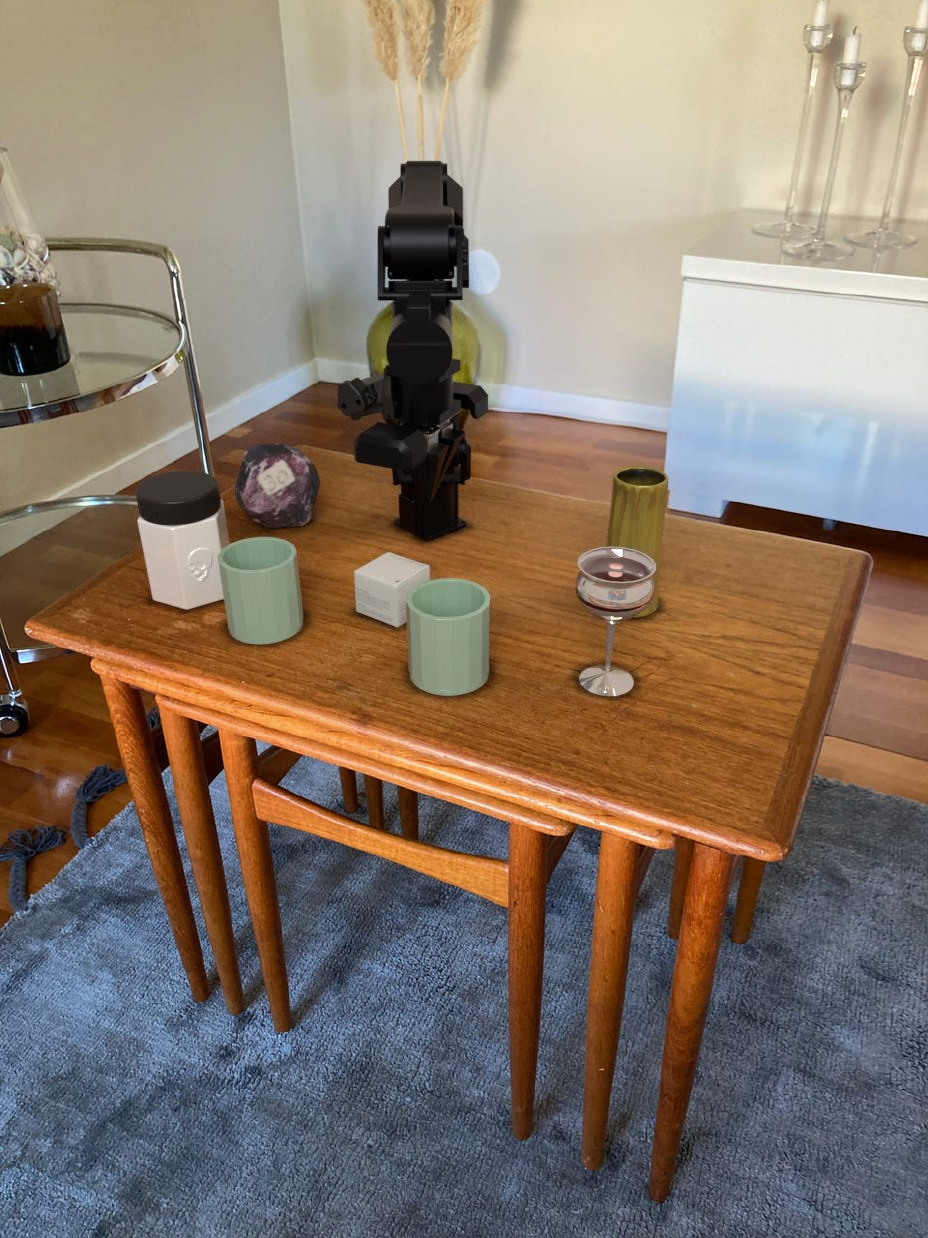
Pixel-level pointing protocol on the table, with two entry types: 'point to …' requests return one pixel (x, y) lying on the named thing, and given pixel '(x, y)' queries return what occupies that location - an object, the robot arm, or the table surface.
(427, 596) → the cup
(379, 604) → the small box
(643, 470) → the vase
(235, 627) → the cup
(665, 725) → the table surface
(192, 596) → the jar
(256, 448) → the mineral specimen
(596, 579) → the wineglass
